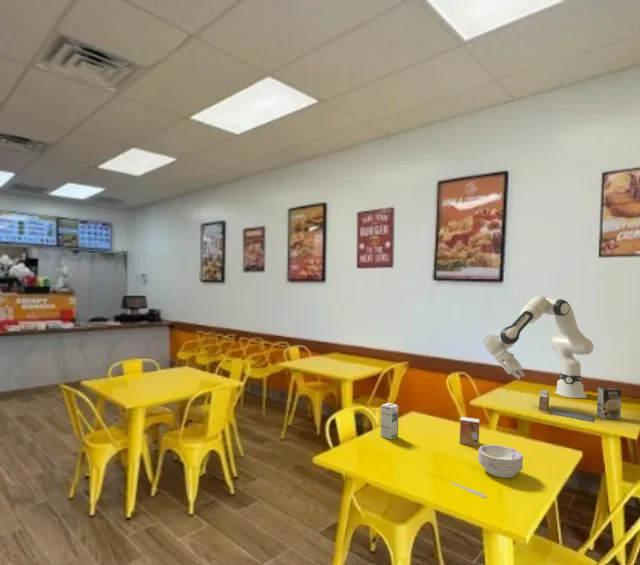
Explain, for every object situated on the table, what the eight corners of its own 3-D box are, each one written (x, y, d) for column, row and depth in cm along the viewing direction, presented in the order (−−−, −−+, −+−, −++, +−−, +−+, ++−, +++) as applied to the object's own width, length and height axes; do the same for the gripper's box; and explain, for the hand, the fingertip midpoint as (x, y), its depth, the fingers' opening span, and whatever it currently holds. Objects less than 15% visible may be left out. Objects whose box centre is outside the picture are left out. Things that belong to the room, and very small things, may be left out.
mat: (553, 409, 243) (553, 408, 243) (594, 416, 231) (594, 415, 231) (549, 413, 234) (549, 412, 234) (592, 421, 221) (592, 420, 221)
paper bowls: (473, 462, 165) (473, 442, 165) (513, 465, 163) (514, 445, 163) (484, 480, 149) (485, 458, 149) (529, 483, 148) (529, 461, 148)
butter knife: (483, 498, 136) (488, 495, 138) (415, 469, 157) (420, 467, 159) (483, 500, 136) (488, 497, 138) (415, 471, 157) (420, 468, 159)
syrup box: (391, 439, 186) (392, 407, 186) (380, 436, 190) (381, 404, 190) (398, 436, 190) (399, 404, 190) (387, 433, 194) (388, 402, 194)
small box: (459, 443, 184) (460, 419, 184) (460, 439, 189) (460, 416, 189) (478, 446, 181) (479, 422, 181) (478, 442, 186) (479, 418, 186)
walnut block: (541, 408, 244) (541, 389, 244) (548, 409, 242) (549, 390, 242) (539, 410, 240) (539, 390, 240) (546, 411, 238) (547, 392, 238)
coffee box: (603, 418, 227) (603, 389, 227) (596, 415, 234) (597, 386, 234) (621, 420, 226) (621, 390, 227) (614, 416, 233) (614, 387, 233)
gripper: (503, 357, 246) (521, 376, 239) (513, 353, 262) (529, 371, 255) (495, 363, 248) (512, 383, 242) (505, 359, 264) (521, 377, 258)
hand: (521, 377), depth 249 cm, fingers open, 8 cm apart
